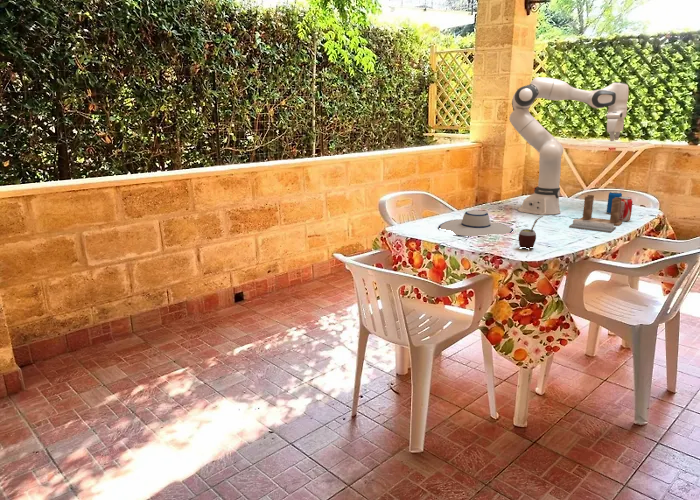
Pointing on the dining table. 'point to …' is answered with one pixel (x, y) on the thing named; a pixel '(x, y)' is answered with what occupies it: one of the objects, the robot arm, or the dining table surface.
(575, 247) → the dining table surface
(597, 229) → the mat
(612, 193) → the beverage can
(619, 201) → the rack
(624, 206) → the soda can
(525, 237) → the mate gourd
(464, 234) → the sun hat
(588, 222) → the rail
